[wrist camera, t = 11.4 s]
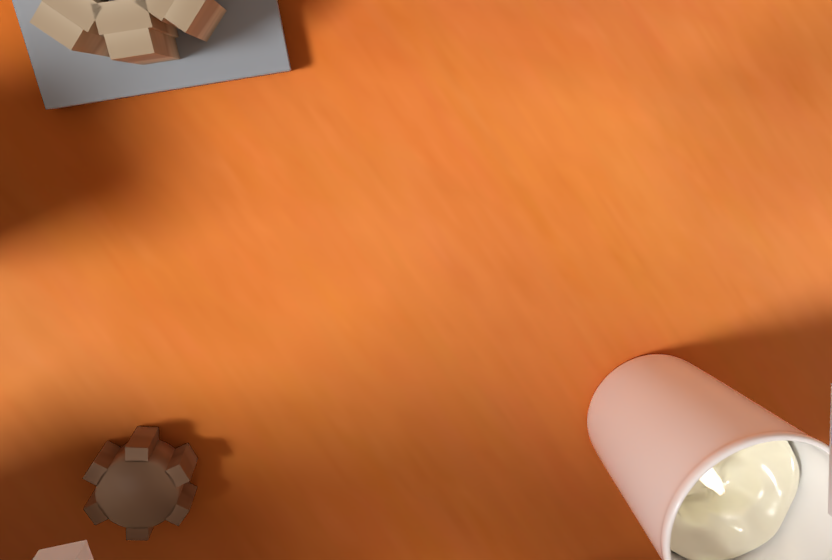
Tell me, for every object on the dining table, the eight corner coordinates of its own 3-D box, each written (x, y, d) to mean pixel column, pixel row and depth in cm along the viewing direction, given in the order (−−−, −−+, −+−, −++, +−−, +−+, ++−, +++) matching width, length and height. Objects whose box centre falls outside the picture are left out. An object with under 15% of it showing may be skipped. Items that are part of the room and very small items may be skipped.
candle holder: (611, 322, 40) (723, 411, 29) (744, 365, 42) (897, 465, 31) (550, 459, 43) (631, 593, 31) (679, 494, 45) (801, 633, 33)
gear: (128, 528, 40) (116, 555, 38) (76, 454, 38) (60, 477, 36) (216, 487, 40) (209, 511, 38) (168, 411, 38) (158, 431, 36)
